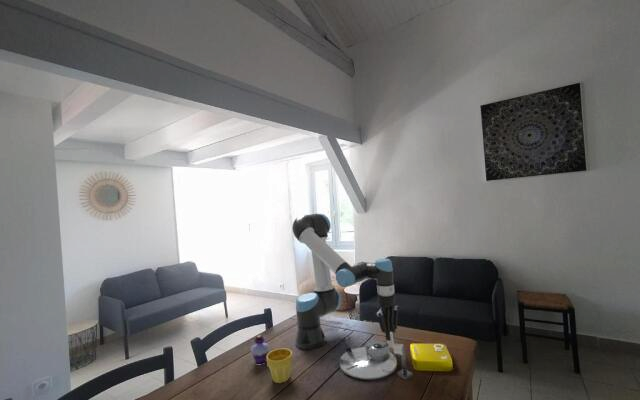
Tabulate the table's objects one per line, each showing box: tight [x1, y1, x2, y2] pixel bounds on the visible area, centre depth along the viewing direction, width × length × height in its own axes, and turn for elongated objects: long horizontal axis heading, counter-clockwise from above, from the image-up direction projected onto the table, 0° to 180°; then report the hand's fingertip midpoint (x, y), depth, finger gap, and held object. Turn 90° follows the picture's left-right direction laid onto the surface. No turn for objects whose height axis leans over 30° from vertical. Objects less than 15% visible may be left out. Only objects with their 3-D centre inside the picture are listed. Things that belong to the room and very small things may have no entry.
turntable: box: [338, 336, 398, 381], centre depth 125 cm, size 27×24×6 cm
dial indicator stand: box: [392, 342, 414, 381], centre depth 115 cm, size 5×4×12 cm
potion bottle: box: [249, 334, 270, 365], centre depth 134 cm, size 9×9×12 cm
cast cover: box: [365, 340, 391, 362], centre depth 127 cm, size 10×10×4 cm
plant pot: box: [266, 347, 293, 384], centre depth 119 cm, size 10×10×10 cm
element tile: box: [409, 342, 454, 372], centre depth 123 cm, size 15×15×5 cm
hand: (390, 346), depth 132 cm, fingers closed
